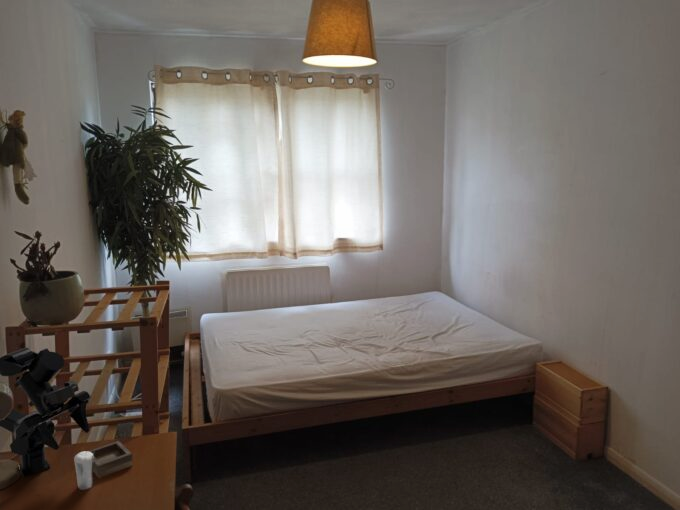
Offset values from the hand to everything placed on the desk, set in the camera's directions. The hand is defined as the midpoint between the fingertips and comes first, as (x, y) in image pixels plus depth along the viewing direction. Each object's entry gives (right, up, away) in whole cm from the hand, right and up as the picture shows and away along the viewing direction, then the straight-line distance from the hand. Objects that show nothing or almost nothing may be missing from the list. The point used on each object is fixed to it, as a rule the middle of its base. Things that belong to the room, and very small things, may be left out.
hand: (73, 440), depth 136 cm
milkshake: (+3, -12, +1) cm, 13 cm away
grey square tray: (+5, -10, +10) cm, 15 cm away
